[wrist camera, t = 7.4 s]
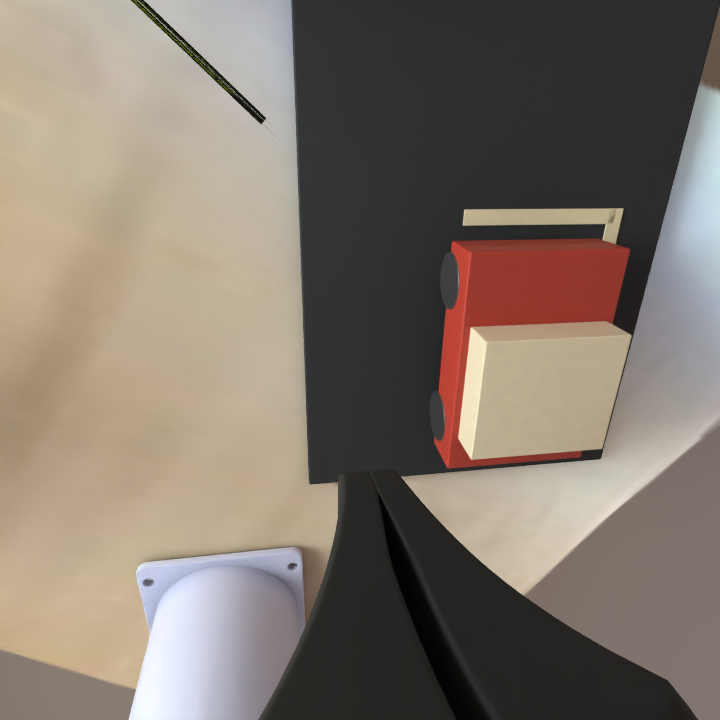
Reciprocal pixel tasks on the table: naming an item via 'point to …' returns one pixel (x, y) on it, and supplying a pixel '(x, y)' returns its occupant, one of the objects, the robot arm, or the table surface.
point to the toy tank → (216, 77)
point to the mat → (466, 180)
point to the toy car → (528, 350)
